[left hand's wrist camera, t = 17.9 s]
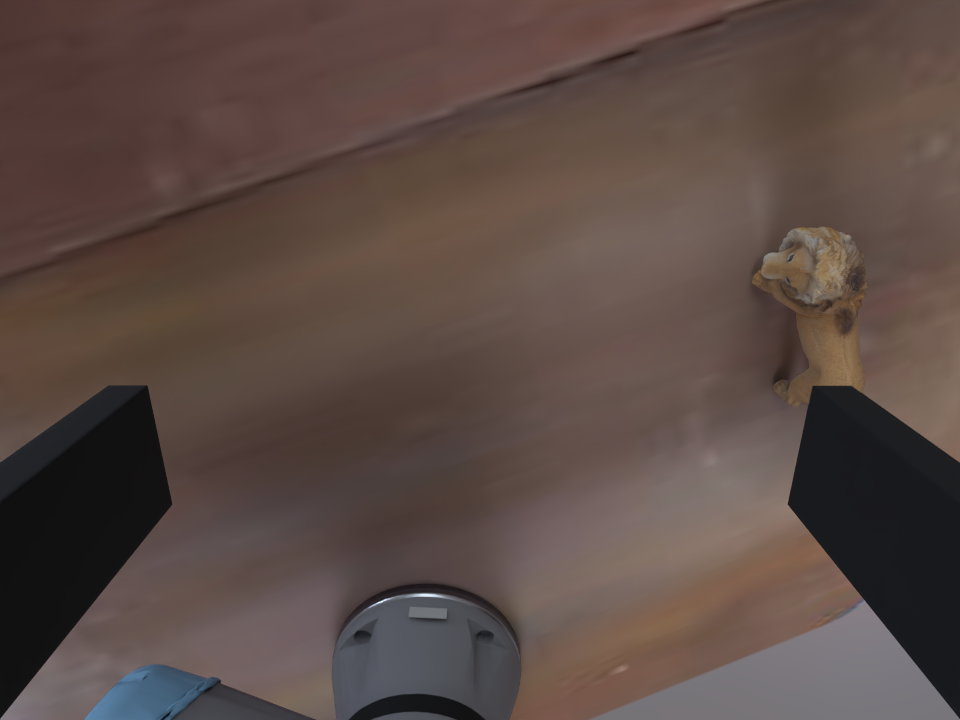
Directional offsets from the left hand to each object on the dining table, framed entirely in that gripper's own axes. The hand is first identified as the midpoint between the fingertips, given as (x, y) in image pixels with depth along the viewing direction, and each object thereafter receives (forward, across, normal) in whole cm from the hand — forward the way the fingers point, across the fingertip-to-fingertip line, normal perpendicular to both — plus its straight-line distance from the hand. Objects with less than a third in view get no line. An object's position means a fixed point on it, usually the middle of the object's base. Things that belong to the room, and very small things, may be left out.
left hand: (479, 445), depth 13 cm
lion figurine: (+28, -20, +5) cm, 35 cm away
